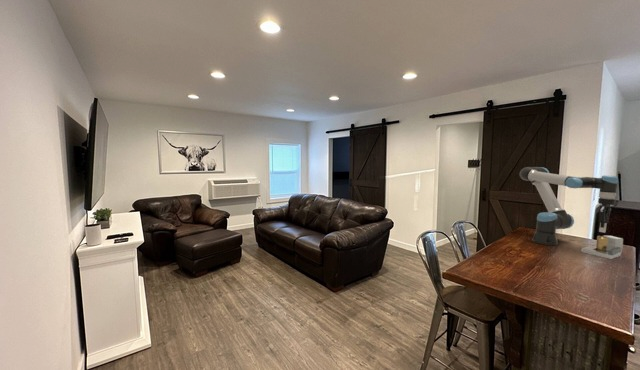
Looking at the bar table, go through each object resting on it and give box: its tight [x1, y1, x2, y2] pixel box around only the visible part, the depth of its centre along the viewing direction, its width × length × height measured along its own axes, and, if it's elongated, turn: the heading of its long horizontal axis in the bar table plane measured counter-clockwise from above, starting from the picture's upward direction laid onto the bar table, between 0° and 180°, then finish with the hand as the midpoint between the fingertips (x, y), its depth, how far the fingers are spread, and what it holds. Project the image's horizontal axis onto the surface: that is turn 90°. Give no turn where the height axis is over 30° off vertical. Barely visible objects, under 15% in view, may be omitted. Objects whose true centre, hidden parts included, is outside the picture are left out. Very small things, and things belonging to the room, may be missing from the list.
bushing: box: [595, 235, 608, 252], centre depth 180 cm, size 5×5×12 cm
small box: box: [603, 235, 624, 254], centre depth 185 cm, size 8×6×10 cm
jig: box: [580, 245, 622, 260], centre depth 180 cm, size 15×15×6 cm
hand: (602, 231), depth 179 cm, fingers closed
